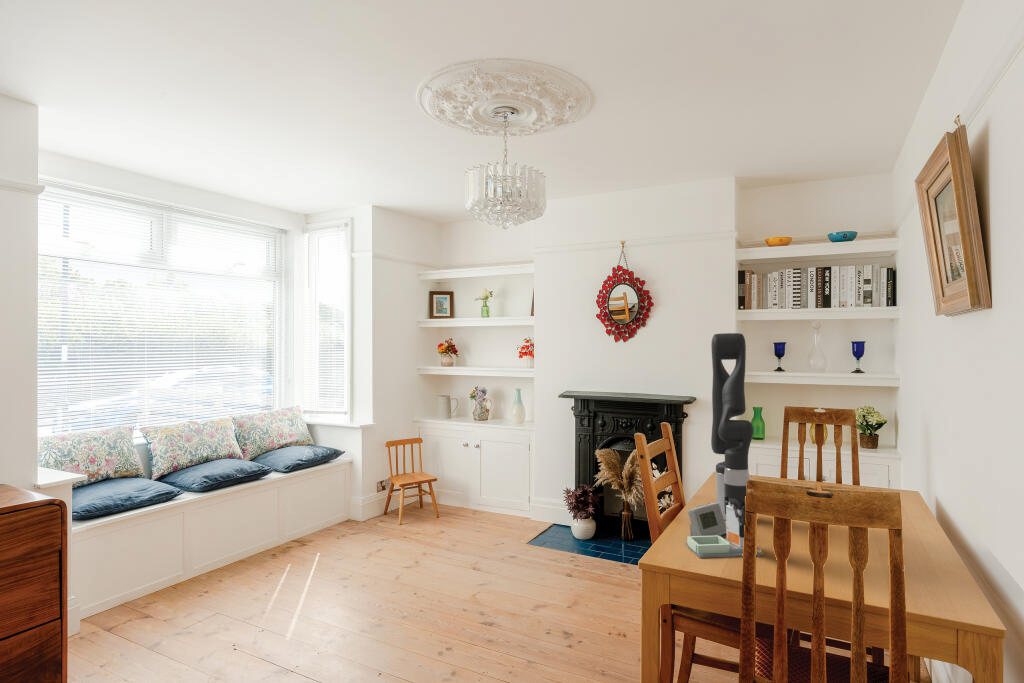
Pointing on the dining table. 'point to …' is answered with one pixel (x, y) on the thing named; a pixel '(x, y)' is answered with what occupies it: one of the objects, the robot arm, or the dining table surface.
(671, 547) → the dining table surface
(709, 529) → the digital clock
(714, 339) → the robot arm
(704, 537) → the grey green docking tray
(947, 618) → the dining table surface
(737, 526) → the skincare box
